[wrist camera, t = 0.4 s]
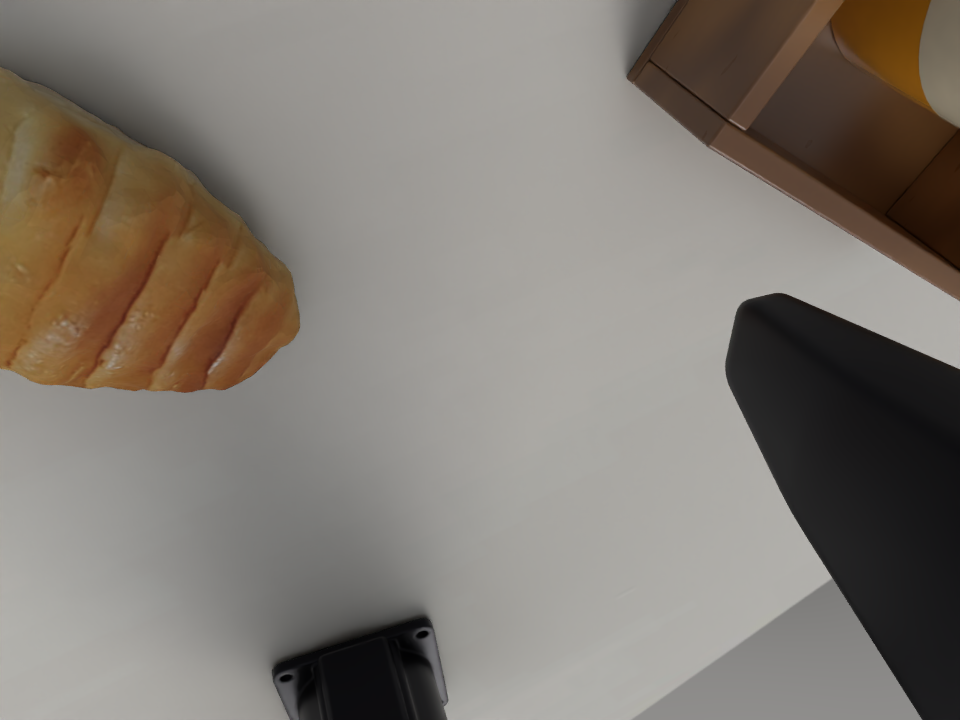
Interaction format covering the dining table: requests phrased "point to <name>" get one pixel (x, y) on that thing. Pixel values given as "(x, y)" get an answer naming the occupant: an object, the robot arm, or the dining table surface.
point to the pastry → (124, 260)
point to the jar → (906, 48)
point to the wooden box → (812, 124)
